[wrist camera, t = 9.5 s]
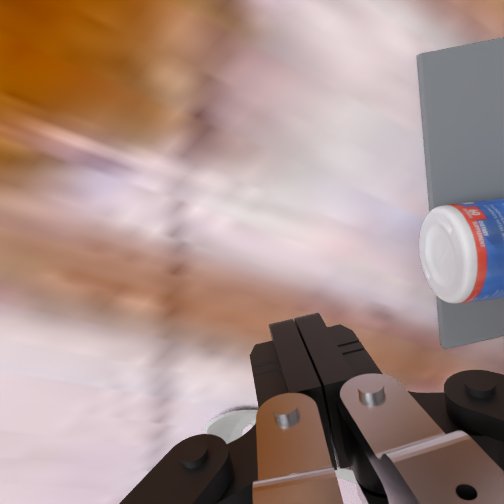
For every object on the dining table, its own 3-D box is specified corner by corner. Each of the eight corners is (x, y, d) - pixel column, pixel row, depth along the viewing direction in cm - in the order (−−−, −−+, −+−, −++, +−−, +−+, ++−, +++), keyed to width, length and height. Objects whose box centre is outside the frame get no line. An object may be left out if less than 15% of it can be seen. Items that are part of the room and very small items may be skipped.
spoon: (219, 387, 29) (220, 401, 28) (470, 482, 33) (483, 500, 32) (193, 437, 30) (192, 454, 28) (441, 524, 34) (452, 544, 32)
